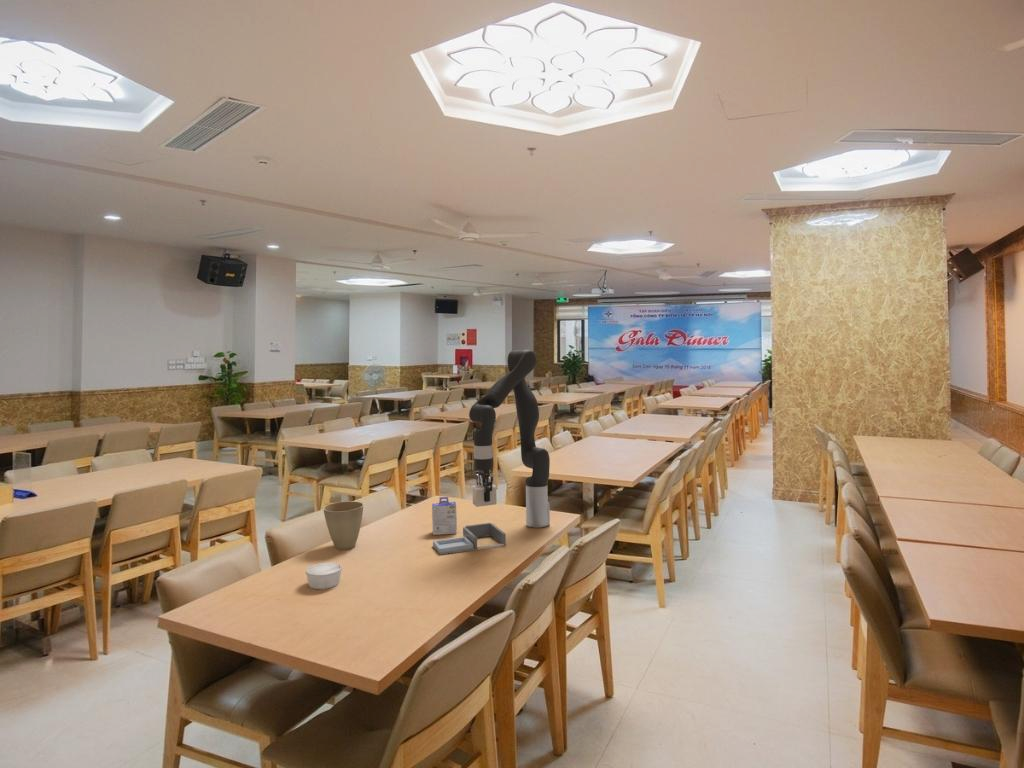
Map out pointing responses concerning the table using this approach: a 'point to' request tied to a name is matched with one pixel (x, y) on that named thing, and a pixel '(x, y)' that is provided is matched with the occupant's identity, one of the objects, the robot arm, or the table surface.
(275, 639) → the table surface
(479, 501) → the tall cream box
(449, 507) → the ink cartridge box
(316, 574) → the ramekin
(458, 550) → the tray
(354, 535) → the plant pot
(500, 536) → the frame
